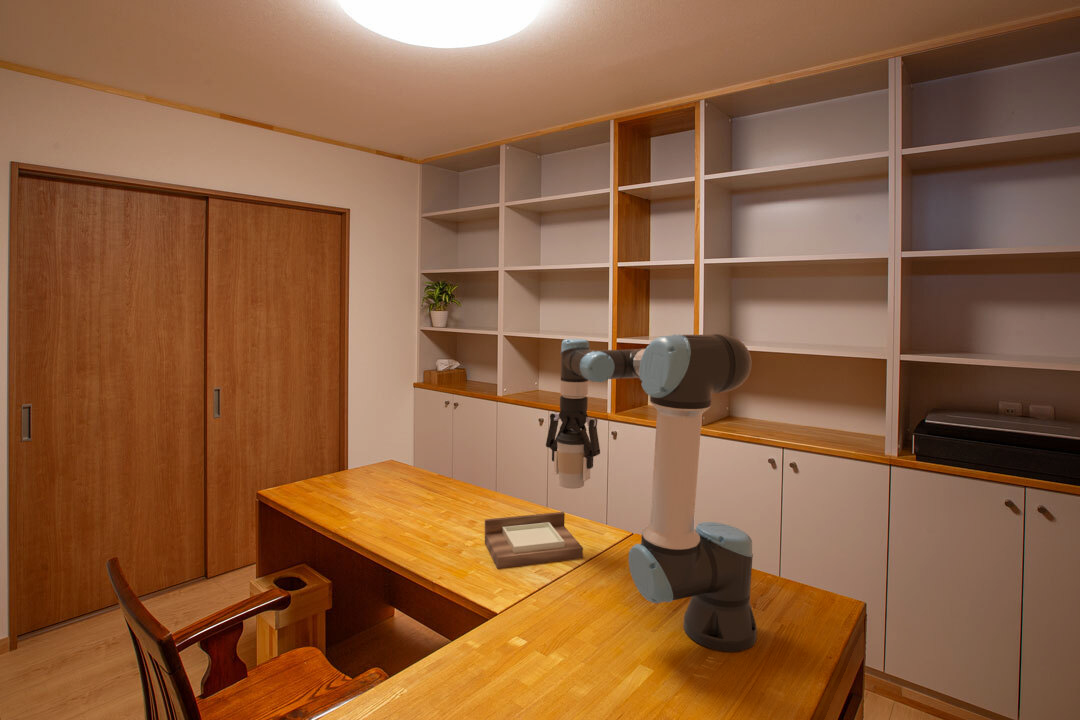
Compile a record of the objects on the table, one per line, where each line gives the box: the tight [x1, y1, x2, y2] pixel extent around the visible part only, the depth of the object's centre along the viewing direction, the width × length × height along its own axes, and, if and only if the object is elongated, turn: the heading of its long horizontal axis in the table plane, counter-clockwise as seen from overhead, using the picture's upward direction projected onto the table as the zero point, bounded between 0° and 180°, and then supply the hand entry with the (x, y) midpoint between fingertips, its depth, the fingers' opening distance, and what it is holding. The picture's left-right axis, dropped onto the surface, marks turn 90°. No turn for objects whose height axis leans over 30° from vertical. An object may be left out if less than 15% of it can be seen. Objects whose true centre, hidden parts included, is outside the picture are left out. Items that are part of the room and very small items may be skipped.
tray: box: [502, 522, 564, 553], centre depth 169 cm, size 14×14×2 cm
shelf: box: [484, 511, 584, 569], centre depth 169 cm, size 17×24×7 cm
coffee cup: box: [556, 429, 590, 490], centre depth 165 cm, size 9×9×15 cm
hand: (571, 476), depth 165 cm, fingers closed on coffee cup, 8 cm apart
